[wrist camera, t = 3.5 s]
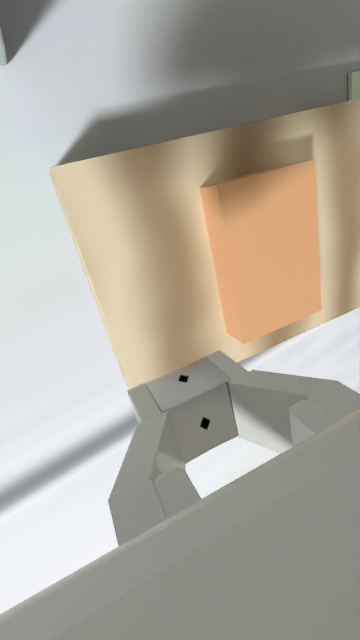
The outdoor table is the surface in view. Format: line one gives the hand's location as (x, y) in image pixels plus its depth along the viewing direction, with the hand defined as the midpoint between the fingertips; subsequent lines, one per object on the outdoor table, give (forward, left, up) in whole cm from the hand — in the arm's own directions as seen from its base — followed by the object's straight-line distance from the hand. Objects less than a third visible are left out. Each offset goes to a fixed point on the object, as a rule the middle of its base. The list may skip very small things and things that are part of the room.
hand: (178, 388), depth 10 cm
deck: (-10, 0, -13) cm, 17 cm away
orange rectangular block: (-9, 0, -9) cm, 13 cm away
